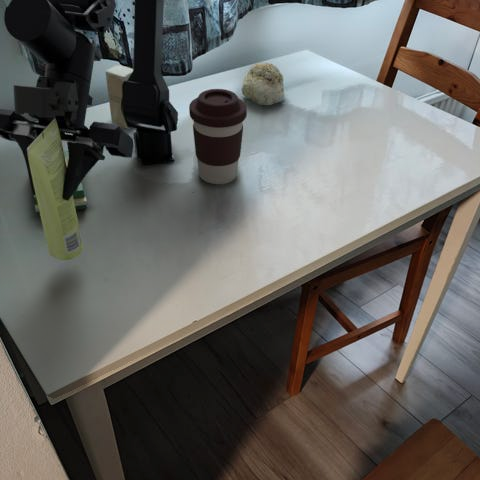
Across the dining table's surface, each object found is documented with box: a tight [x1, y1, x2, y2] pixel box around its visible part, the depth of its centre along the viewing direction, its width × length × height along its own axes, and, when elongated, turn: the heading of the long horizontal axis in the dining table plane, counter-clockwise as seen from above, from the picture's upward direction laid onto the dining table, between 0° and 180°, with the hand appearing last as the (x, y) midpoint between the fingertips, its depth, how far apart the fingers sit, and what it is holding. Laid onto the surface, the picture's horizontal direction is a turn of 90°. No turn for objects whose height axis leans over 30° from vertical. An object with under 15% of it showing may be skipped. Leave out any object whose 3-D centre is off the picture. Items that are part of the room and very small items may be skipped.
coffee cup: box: [188, 88, 248, 185], centre depth 94 cm, size 10×10×15 cm
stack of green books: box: [33, 150, 88, 216], centre depth 92 cm, size 8×15×5 cm, turn 18°
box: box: [104, 64, 133, 130], centre depth 109 cm, size 5×4×11 cm
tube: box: [27, 118, 84, 261], centre depth 71 cm, size 6×5×20 cm
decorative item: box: [241, 62, 285, 106], centre depth 121 cm, size 12×9×10 cm
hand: (50, 197), depth 70 cm, fingers closed on tube, 4 cm apart
